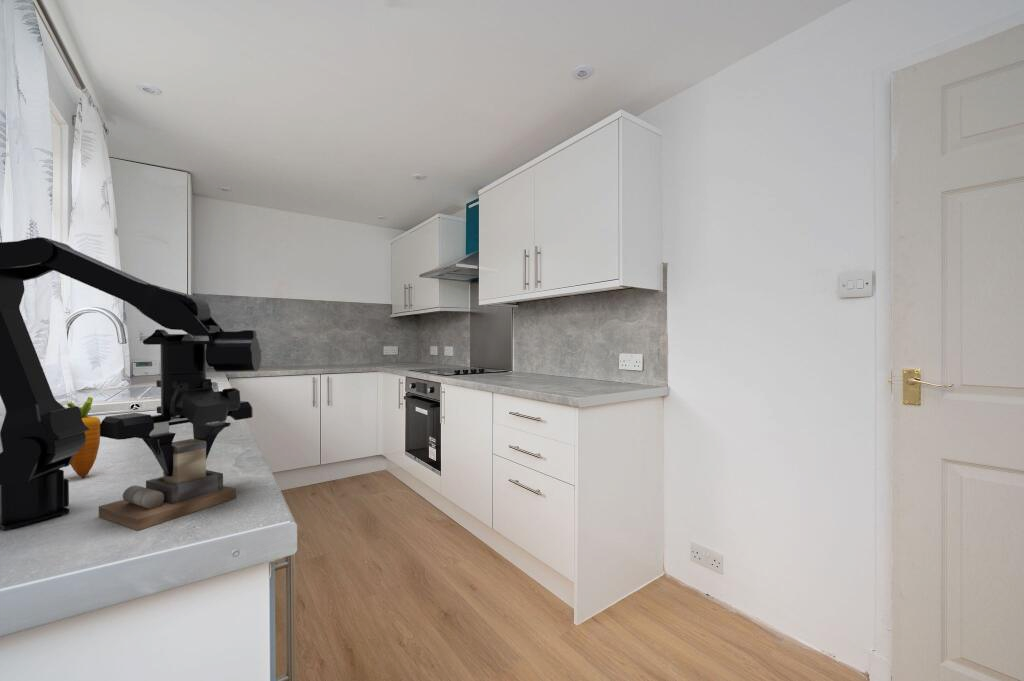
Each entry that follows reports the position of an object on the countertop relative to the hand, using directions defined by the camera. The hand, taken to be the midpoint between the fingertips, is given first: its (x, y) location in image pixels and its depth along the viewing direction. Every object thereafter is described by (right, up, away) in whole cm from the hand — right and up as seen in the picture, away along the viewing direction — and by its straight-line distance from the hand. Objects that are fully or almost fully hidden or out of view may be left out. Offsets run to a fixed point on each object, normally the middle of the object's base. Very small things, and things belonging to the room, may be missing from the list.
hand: (185, 472), depth 68 cm
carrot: (-29, -5, +13) cm, 32 cm away
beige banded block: (0, -1, 0) cm, 1 cm away
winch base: (-1, -5, -2) cm, 5 cm away
